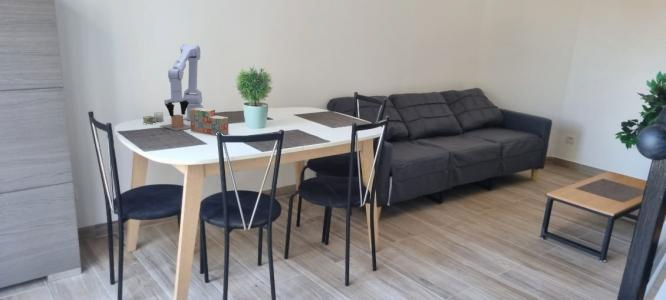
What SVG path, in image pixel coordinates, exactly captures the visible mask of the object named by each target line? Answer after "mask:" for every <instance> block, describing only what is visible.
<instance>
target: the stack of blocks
mask: <svg viewBox="0 0 666 300" xmlns="http://www.w3.org/2000/svg"><path fill="white" fill-rule="evenodd" d="M189 123H190V124H189V125H190V126H191V129H190V132H194V133H198V134H199V133H200V134H206V135H212V136H217V135H216V133H217V132H221V133H222V134H223V135H224V136H227V135H229V117H228V116H223V115H222V116H221V115H216V109H212V108H204V107H203V108H194V109H190V122H189Z"/></svg>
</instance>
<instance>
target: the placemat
mask: <svg viewBox="0 0 666 300" xmlns="http://www.w3.org/2000/svg"><path fill="white" fill-rule="evenodd" d="M183 124H184V126H182V127H173V126H172V123H168V124H162V125H160V127H161V126H162V127H161V128H164V127H165V129H169V130H171V129H172V131H176V132H179V131H185V130H191V125H190V124H189V125H188V124H185V123H183Z"/></svg>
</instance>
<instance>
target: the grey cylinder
mask: <svg viewBox="0 0 666 300" xmlns="http://www.w3.org/2000/svg"><path fill="white" fill-rule="evenodd" d="M153 116H154V117H156V123H163V122H165V121H164V120H165V119H164V112H159V111H157V112H154V113H153ZM162 121H163V122H162Z"/></svg>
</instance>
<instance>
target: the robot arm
mask: <svg viewBox="0 0 666 300" xmlns="http://www.w3.org/2000/svg"><path fill="white" fill-rule="evenodd" d="M200 59H201V47H200V46H199V45H198V44H181V46H180V57H179V59H176V61H175V62H174V64H173V66H172V68H170V69H168V73H167V76H168V80H169V83H170V95H171V96H170V98H169V99H164V105H165V107H166V108H167V110H168V114H169V117H170V118H171V117H173V116H174V115H175V114H174V112H175V111H174V109H175V104H176V103H179V107H180V111H181V112H180V115H182V116H185V115H186V118H184V117H183V120H185V121H190V109H194V108H204V106H203V105H202V102H203V97H202V91H201V90H199V89H198V62H199V60H200ZM187 62H188V80H187V81H188V84H187V85H188V87H187V88H186V89H185V90H184V91H183V88H182V87H183V86H182V85H183V83H182V80H183V78H184V71H185V69H186V66H187V64H186V63H187Z"/></svg>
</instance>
